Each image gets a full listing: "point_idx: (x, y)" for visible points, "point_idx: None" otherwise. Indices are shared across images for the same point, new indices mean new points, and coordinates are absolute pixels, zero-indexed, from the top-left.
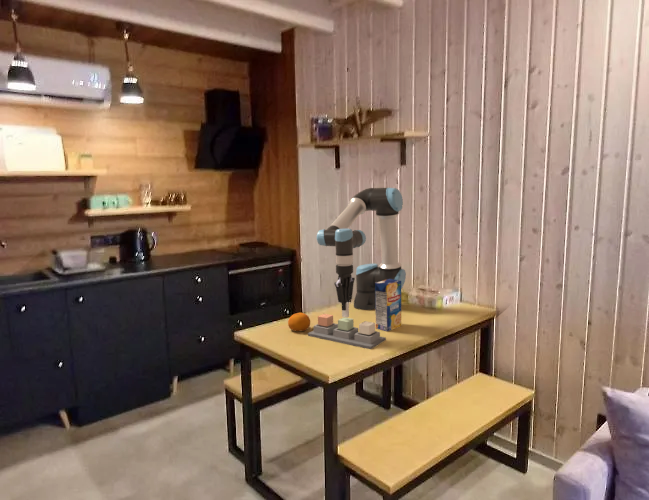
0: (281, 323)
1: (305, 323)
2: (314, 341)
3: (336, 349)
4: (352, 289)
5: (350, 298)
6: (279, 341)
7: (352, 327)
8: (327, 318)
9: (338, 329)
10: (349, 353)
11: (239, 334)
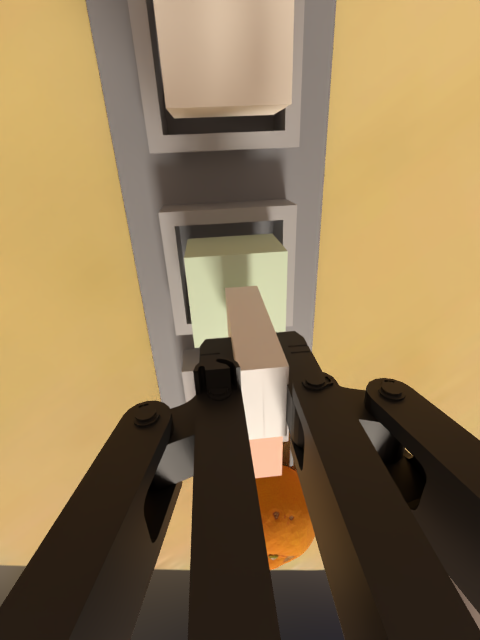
0: None
1: (280, 483)
2: (355, 351)
3: (418, 184)
4: (15, 618)
5: (171, 416)
6: None
7: (203, 238)
8: None
9: None
10: (456, 60)
11: None
